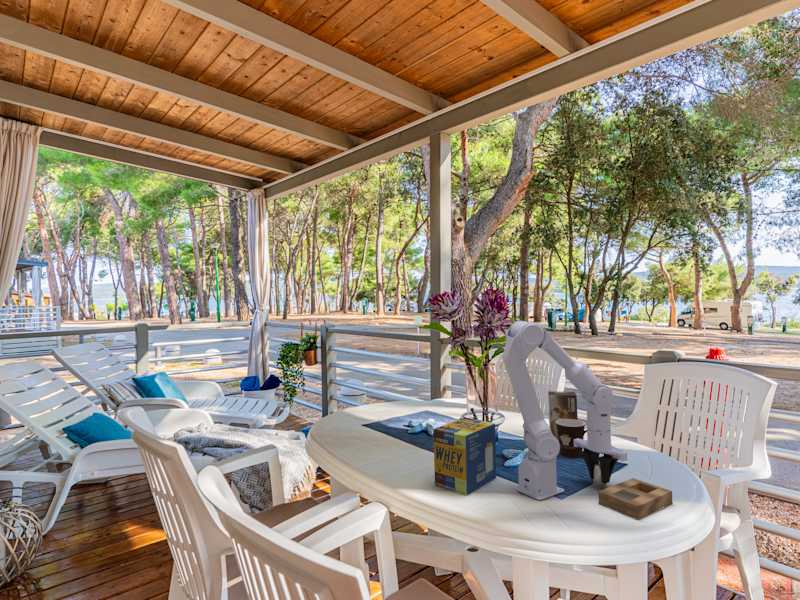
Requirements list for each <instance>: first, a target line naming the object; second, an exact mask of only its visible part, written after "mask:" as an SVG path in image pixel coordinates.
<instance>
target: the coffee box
mask: <svg viewBox="0 0 800 600" xmlns="http://www.w3.org/2000/svg"><path fill="white" fill-rule="evenodd" d="M547 393H548V397H547V398H548V422H549V424H548V426H549V427H550V429H551V432H552V434H553V436H554V437H555V438H556V439H557V440H558V434H557V427H556V421H557V420H561V419H573V420H579V419H578V418H579V417H578V415H579V414H578V398H577V397H578V396H577V394H576V393H575V392H574V391H554V390H553V391H548V392H547Z"/></svg>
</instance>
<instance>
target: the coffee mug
mask: <svg viewBox="0 0 800 600" xmlns="http://www.w3.org/2000/svg"><path fill="white" fill-rule="evenodd" d="M585 426H586V423H585V422H584V421H582V420H579V419H578V420H573V419H561V420H557V421H556V427H557V434H558V441H559V444H560V451H559V455H561V456H562V457H564V458H567V459H568V458H569V459H570V458H571V459H577V458H581V457H582V456H581V452H582V451H583V450H584V448H581V447H574V439H577V438H579V439H584V437H585V434H586V433H587V429H585Z"/></svg>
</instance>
